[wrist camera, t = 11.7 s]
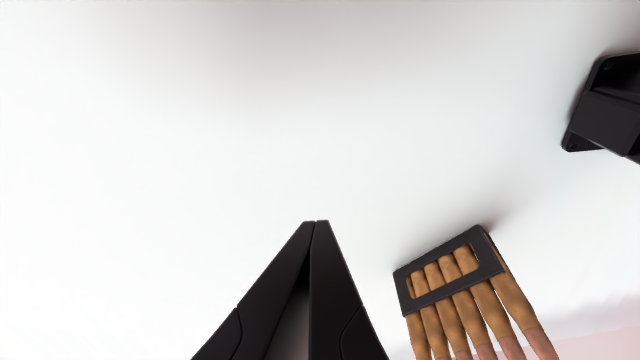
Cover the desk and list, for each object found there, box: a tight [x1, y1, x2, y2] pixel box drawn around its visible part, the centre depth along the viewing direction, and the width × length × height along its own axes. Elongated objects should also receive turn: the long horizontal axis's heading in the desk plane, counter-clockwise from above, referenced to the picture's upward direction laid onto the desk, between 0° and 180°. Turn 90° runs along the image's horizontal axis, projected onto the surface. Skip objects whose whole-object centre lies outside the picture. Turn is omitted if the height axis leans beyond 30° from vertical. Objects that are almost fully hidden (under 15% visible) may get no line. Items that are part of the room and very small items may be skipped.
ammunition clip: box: [393, 225, 559, 360], centre depth 22 cm, size 11×2×12 cm, turn 141°
